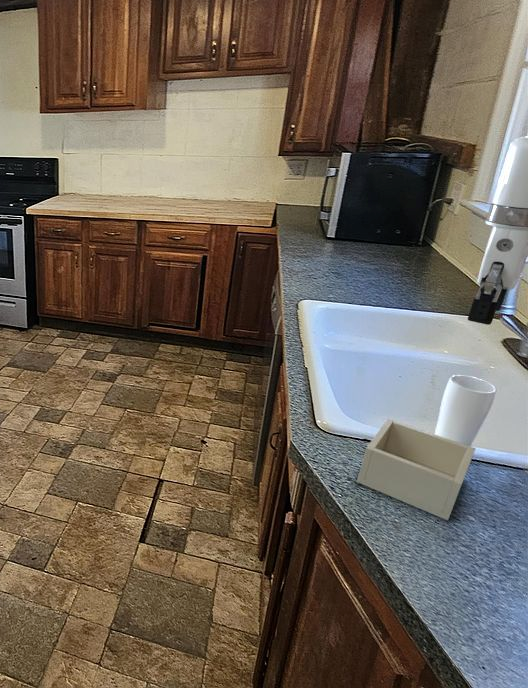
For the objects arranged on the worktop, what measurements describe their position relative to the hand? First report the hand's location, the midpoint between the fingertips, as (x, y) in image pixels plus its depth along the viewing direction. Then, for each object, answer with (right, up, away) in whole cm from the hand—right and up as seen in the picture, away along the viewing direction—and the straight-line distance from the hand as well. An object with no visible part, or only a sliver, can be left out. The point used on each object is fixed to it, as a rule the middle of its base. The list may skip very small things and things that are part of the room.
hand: (483, 315), depth 92 cm
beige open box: (-14, -29, -2) cm, 32 cm away
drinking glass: (-2, -26, +5) cm, 27 cm away
